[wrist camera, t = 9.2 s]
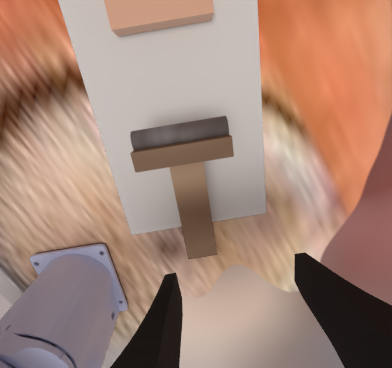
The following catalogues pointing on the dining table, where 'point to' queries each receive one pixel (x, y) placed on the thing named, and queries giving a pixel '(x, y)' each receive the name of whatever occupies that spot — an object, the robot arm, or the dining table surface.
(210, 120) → the pusher
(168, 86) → the mat
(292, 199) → the dining table surface
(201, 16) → the tile
